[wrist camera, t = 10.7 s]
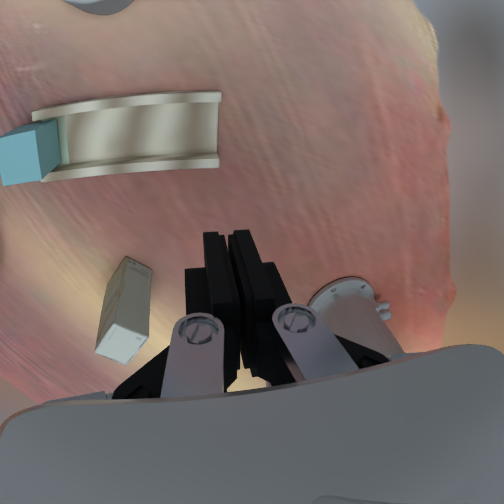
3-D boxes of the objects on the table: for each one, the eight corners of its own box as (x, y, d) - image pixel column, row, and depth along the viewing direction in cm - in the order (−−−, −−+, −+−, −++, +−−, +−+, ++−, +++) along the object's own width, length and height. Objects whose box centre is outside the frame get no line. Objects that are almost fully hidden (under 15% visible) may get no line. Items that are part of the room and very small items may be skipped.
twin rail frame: (218, 90, 31) (221, 92, 29) (215, 159, 36) (219, 167, 33) (43, 107, 27) (31, 112, 24) (50, 172, 31) (41, 182, 29)
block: (56, 118, 27) (35, 130, 23) (61, 161, 30) (41, 179, 25) (19, 126, 26) (-6, 139, 22) (25, 167, 29) (2, 186, 24)
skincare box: (125, 255, 40) (113, 320, 30) (153, 270, 42) (150, 337, 32) (105, 286, 42) (92, 353, 32) (132, 299, 44) (126, 366, 34)
